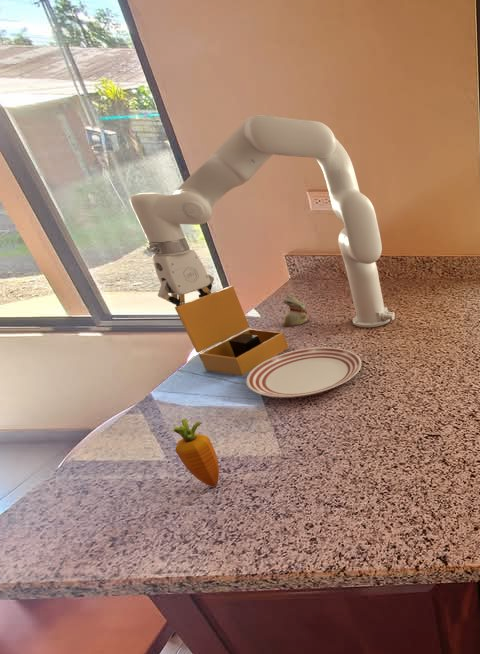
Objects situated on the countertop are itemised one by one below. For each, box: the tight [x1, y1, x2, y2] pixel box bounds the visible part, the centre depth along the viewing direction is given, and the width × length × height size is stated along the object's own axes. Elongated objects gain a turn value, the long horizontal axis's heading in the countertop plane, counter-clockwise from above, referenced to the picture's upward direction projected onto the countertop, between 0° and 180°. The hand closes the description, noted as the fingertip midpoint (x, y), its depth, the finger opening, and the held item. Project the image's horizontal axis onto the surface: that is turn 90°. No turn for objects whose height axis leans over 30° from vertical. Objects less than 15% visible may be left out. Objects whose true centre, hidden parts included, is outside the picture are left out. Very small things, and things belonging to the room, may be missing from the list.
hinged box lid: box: [174, 285, 250, 354], centre depth 117 cm, size 13×17×6 cm
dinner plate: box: [245, 346, 362, 399], centre depth 113 cm, size 28×27×3 cm
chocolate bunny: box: [282, 294, 308, 327], centre depth 143 cm, size 6×8×10 cm
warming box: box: [198, 327, 289, 377], centre depth 120 cm, size 12×17×6 cm
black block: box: [229, 334, 261, 358], centre depth 120 cm, size 5×5×6 cm
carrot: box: [172, 418, 220, 488], centre depth 76 cm, size 5×5×15 cm
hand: (198, 312), depth 117 cm, fingers closed on hinged box lid, 6 cm apart
